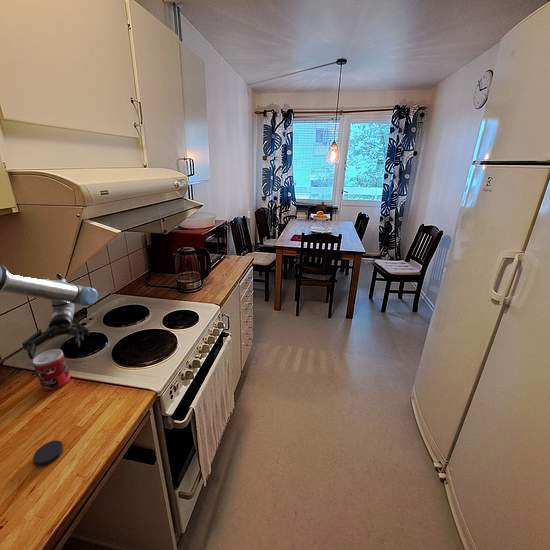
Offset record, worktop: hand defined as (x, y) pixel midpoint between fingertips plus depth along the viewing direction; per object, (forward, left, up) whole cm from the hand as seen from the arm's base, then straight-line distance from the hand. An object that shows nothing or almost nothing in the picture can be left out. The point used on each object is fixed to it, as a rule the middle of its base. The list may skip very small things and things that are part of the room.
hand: (54, 350), depth 101 cm
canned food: (+4, -8, -7) cm, 12 cm away
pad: (+20, -33, -7) cm, 39 cm away
